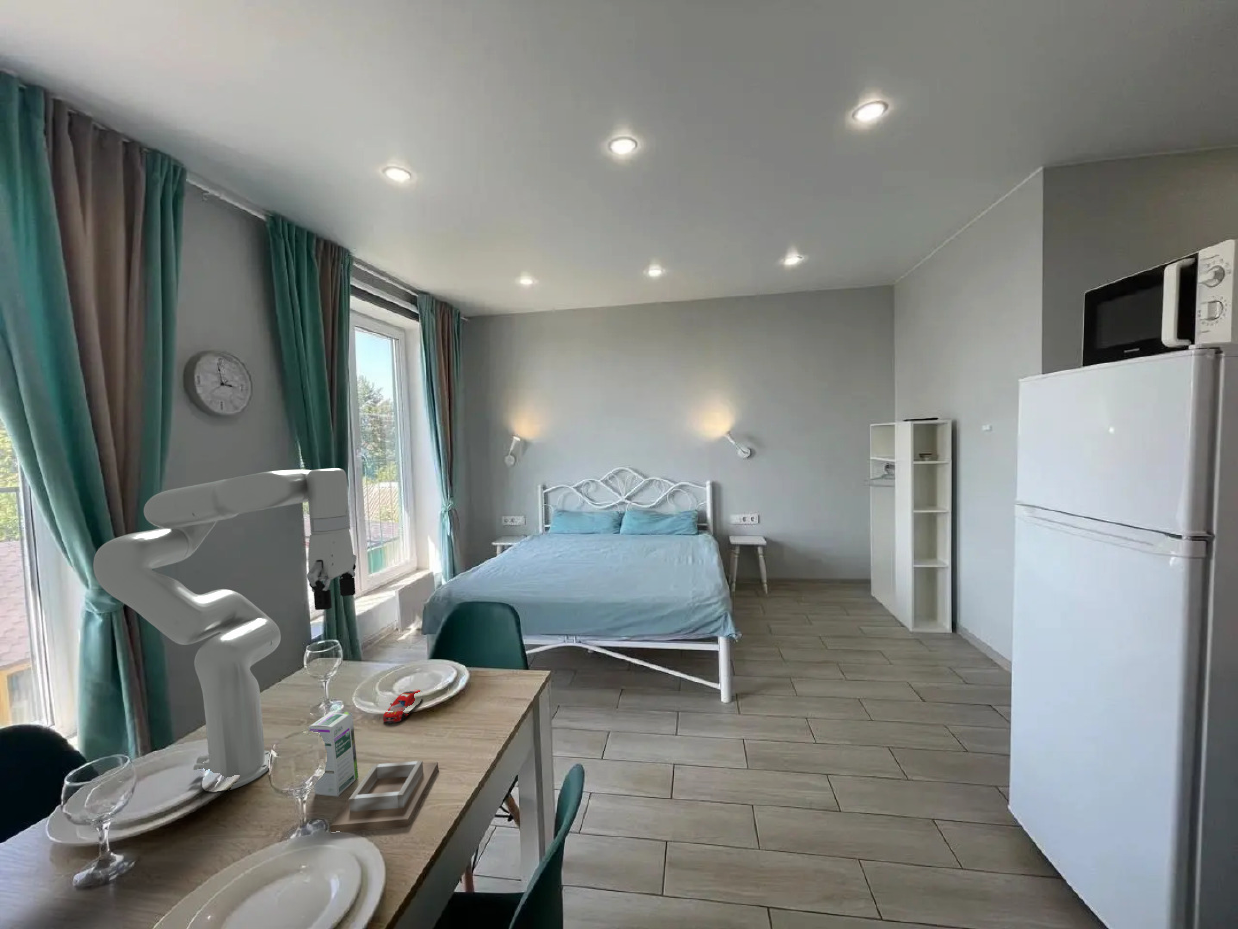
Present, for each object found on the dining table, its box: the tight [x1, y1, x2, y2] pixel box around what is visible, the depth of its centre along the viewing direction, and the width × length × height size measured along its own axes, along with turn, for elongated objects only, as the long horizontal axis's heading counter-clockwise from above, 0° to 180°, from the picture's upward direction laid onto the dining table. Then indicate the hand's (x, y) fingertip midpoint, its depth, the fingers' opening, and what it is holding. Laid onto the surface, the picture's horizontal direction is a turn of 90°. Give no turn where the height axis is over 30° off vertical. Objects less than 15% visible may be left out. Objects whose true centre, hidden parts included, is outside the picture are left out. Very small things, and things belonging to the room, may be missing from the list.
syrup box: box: [307, 710, 359, 797], centre depth 100 cm, size 6×6×14 cm
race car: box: [382, 689, 421, 724], centre depth 129 cm, size 13×5×4 cm, turn 172°
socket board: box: [329, 760, 439, 833], centre depth 96 cm, size 14×16×4 cm
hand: (336, 601), depth 106 cm, fingers open, 9 cm apart
